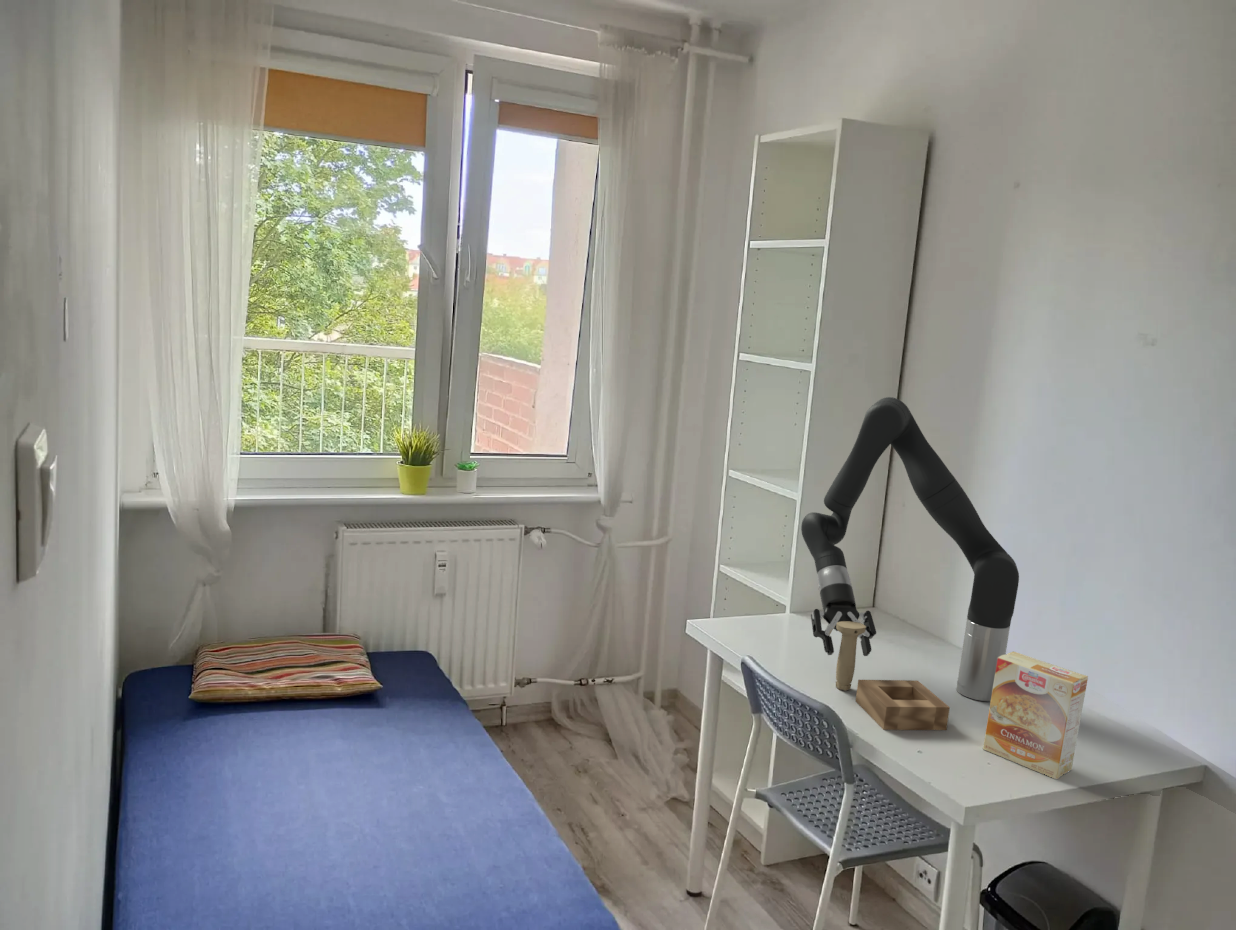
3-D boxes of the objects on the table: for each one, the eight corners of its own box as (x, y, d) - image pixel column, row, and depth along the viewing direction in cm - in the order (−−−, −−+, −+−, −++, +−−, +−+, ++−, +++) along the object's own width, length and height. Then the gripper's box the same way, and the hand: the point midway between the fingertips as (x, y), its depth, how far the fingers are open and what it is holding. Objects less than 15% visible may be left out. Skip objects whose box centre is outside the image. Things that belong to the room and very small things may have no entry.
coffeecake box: (981, 749, 192) (996, 656, 188) (998, 740, 196) (1013, 649, 193) (1056, 780, 181) (1073, 682, 178) (1072, 770, 186) (1089, 675, 182)
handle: (860, 692, 216) (869, 628, 213) (834, 692, 214) (843, 628, 212) (850, 683, 220) (858, 621, 218) (825, 684, 219) (833, 621, 216)
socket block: (914, 701, 213) (917, 680, 212) (946, 730, 199) (949, 707, 199) (855, 701, 210) (858, 679, 210) (883, 729, 197) (886, 706, 196)
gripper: (812, 580, 220) (824, 646, 211) (870, 582, 222) (885, 648, 213) (801, 595, 226) (813, 660, 217) (858, 597, 228) (872, 661, 219)
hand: (849, 654), depth 215 cm, fingers open, 8 cm apart
